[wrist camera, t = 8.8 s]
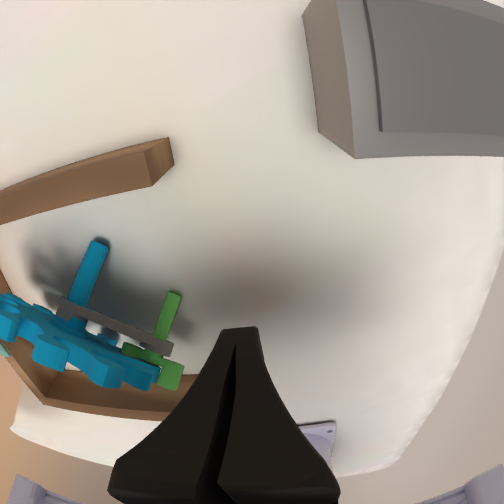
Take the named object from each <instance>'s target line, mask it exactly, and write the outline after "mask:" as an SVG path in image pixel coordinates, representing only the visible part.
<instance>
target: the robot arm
mask: <svg viewBox="0 0 504 504" xmlns="http://www.w3.org/2000/svg"><path fill="white" fill-rule="evenodd" d="M335 433H336V423H333V422H329V423H322V424H315V425H307V426H298V425H297V424H296V423H295V421H294V420H293V418H292V417H291V415H290V414H289V412H288V410H287V409H286V407H285V405H284V403H283V402H282V400H281V398H280V396H279V394H278V392H277V390H276V388H275V386H274V384H273V382H272V380H271V378H270V375H269V373H268V371H267V368H266V365H265V362H264V356H263V352H262V347H261V342H260V337H259V332H258V328H256V327H255V326H253V327H243V328H232V329H223V330H222V331H221V333H220V335H219V337H218V340H217V342H216V344H215V346H214V348H213V350H212V352H211V354H210V356H209V357H208V359H207V361H206V363H205V365H204V366H203V368H202V370H201V371H200V373H199V375H198V376H197V378H196V379H195V381H194V382H193V384H192V385H191V387H190V388H189V390H188V391H187V393H186V394H185V395H184V397H183V398H182V399H181V401H180V402H179V403H178V404H177V406H176V407H175V408H174V409H173V410H172V412H171V413H170V414H169V415H168V416H167V417H166V418H165V419H164V420H163V421H162V422H161V424H160V425H159V426H158V427H157V428H155V429H154V430H153V431H152V432H151V433H150V434H149V435H148V436H147V437H145V438H144V439H143V440H142V441H141V442H140V443H139V444H137V445H136V446H135V447H133V448H132V449H131V450H129V451H128V452H127V453H125V454H124V455H123V456H121V457H120V458H118V459H117V460H116V462H115V465H114V467H113V470H112V473H111V477H110V481H109V486H108V489H107V491H108V492H109V494H110V495H111V496H112V497H114V498H115V499H117V500H119V501H121V502H122V503H124V504H338V498H339V496H340V487H339V485H338V482H337V480H336V478H335V476H334V475H333V469H332V461H331V457H332V452H333V446H334V439H335ZM7 504H84V503H81V502H78V501H75V500H72V499H69V498H66V497H64V496H61V495H58V494H56V493H53V492H50V491H48V490H46V489H45V488H44V487H43V486H41V485H39V484H38V483H36V482H34V481H32V480H30V479H28V478H25V477H23V476H21V475H19V474H17V475H16V477H15V480H14V483H13V486H12V489H11V491H10V495H9V498H8V501H7ZM417 504H504V467H503V465H502V464H499V465H497V466H495V467H493V468H491V469H489V470H487V471H485V472H483V473H481V474H479V475H477V476H476V477H474V478H472V479H470V480H469V481H468V482H467V483H465V485H464V486H461V487H459V488H457V489H454V490H452V491H450V492H447V493H445V494H442V495H439V496H436V497H434V498H431V499H428V500H425V501H423V502H419V503H417Z"/></svg>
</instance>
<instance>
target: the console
mask: <svg viewBox="0 0 504 504" xmlns="http://www.w3.org/2000/svg"><path fill="white" fill-rule="evenodd" d="M302 16H303V21H304V27H305V33H306V39H307V45H308V52H309V58H310V65H311V72H312V80H313V87H314V95H315V103H316V112H317V121H318V131H319V133H320V134H322V135H323V136H325V137H326V138H327V139H329V140H330V141H331V142H333V143H334V144H336V145H337V146H338V147H340V148H341V149H342V150H344V151H345V152H346V153H348V154H349V155H350V156H351V157H353V158H354V159H363V158H381V157H404V156H495V157H504V8H502V7H499V6H497V5H494V4H492V3H489V2H486V1H483V0H311V2H310V3H309V5H308V6H307V8H306V10H305V11H304V13H303V15H302Z"/></svg>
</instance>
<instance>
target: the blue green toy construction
mask: <svg viewBox="0 0 504 504" xmlns="http://www.w3.org/2000/svg"><path fill="white" fill-rule="evenodd" d="M108 251H109V249H108V248H107V247H106V246H104V245H102V244H100V243H98V242H96V241H92V240H91V242H90V245H89V247H88V249H87V251H86V254H85V256H84V258H83V261H82V263H81V266H80V268H79V270H78V273H77V275H76V278H75V281H74V283H73V286H72V288H71V291H70V294H69V296H68V298H65V297H62V298H61V301H60V303H59V306H58V309H57V312H56V315H55V314H53V313H52V311H50V310H49V309H47V308H45V307H42V306H40V305H37V304H33V306H31V305H30V304H28V303H26V302H25V301H23V300H22V299H21V298H19V297H17V296H16V295H14V294H11V293H7V292H5V294H4V295H3V294H1V293H0V338H1V339H3V340H4V341H6V342H11V343H13V342H15V339H16V336H20V337H22V338H24V339H26V340H28V341H30V342H31V343H33V344H34V349H33V353H32V356H31V357H32V359H33V360H34V361H35V362H37V363H39V364H41V365H43V366H46V367H49V368H51V369H54V370H57V371H61V372H64V369H65V366H66V362H69V363H70V364H72V365H74V366H75V367H77V368H78V369H80V370H81V371H82V372H84V373H85V374H86V375H87V376H88V377H89V379H90V380H91V381H92V382H94V383H95V384H97V385H99V386H101V387H105V388H120V387H121V384H122V381H124V382H126V383H128V384H129V385H131V386H133V387H135V388H138V389H140V390H143V391H148V390H149V389H150V386H151V383H152V382H153V383H156V382H157V384H158V385H160V386H161V387H164V388H166V389H169V390H174V391H176V390H177V387H178V384H179V381H180V378H181V376H182V373H183V370H184V366H183V365H181V364H179V363H176V362H174V361H171V360H167V359H164V358H163V356H167V357H170V354H171V351H172V349H173V346H174V343H172V342H170V341H167V340H166V339H167V336H168V333H169V330H170V327H171V325H172V322H173V319H174V316H175V314H176V311H177V308H178V305H179V303H180V300H181V297H180V296H178V295H176V294H173V293H170V292H168V294H167V296H166V299H165V302H164V304H163V307H162V310H161V312H160V315H159V318H158V321H157V323H156V326H155V329H154V332H153V335H152V334H149V333H147V332H144V331H142V330H139V329H137V328H134V327H132V326H129V325H127V324H124V323H122V322H120V321H117V320H115V319H112V318H110V317H108V316H105V315H103V314H101V313H99V312H96V311H94V310H92V309H90V308H88V307H86V306H87V303H88V300H89V298H90V295H91V292H92V290H93V287H94V285H95V282H96V279H97V277H98V274H99V272H100V270H101V267H102V265H103V262H104V260H105V258H106V255H107V253H108ZM88 320H91V321H93V322H95V323H98V324H100V325H102V326H105V327H107V328H109V329H112V330H114V331H116V332H119V333H121V334H124V335H126V336H129V337H131V338H134V339H136V340H139V341H141V342H140V346H141V347H143V348H145V350H143V349H141V348H140V347H138V346H135V345H133V344H130V343H127V342H124V343H123V346H122V349H121V348H118V347H116V344H117V341H116V340H114V339H112V338H110V337H107V336H105V335H103V334H100V333H98V335H97V336H96V335H93V334H91V333H89V332H88V331H86V330H85V327H86V324H87V321H88ZM159 366H161V367H162V369H161V368H160V367H159ZM160 370H161V372H160ZM159 373H160V375H159ZM158 376H159V378H158ZM157 379H158V381H157Z"/></svg>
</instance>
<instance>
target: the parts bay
mask: <svg viewBox="0 0 504 504" xmlns="http://www.w3.org/2000/svg"><path fill="white" fill-rule="evenodd" d="M173 165H174V161H173V156H172V152H171V147H170V142H169V137H167V138H163V139H158V140H154V141H150V142H146V143H142V144H138V145H134V146H130V147H126V148H122V149H119V150H115V151H111V152H108V153H104V154H101V155H98V156H94V157H91V158H88V159H85V160H81V161H78V162H75V163H72V164H69V165H66V166H63V167H60V168H57V169H54V170H52V171H49V172H46V173H43V174H41V175H38V176H35V177H33V178H30V179H27V180H25V181H22V182H20V183H17V184H15V185H12V186H10V187H8V188H5V189H3V190H1V191H0V225H2V224H5V223H8V222H11V221H15V220H18V219H21V218H25V217H28V216H31V215H35V214H38V213H42V212H45V211H49V210H53V209H56V208H60V207H64V206H68V205H72V204H75V203H79V202H83V201H88V200H92V199H96V198H100V197H104V196H109V195H113V194H117V193H122V192H127V191H131V190H136V189H141V188H146V187H151V186H153V185H154V184H155V183H156V182H157V181H158V180H159V179H160V178H161V177H162V176H163V175H164V174H165V173H166V172H167V171H168V170H169V169H170V168H171V167H172V166H173ZM5 292H7V293H11V291H10V289H9V287H8V285H7V283H6V281H5V279H4V277H3V275H2V273H1V271H0V293H1V294H3V295H4V294H5ZM11 294H12V293H11ZM33 349H34V344H33V343H31V342H30V341H28V340H26V339H24V338H22V337H20V336H16V339H15V342H13V343H11V342H6V341H4V340H3V339H1V338H0V354H1V355H2V356H5V358H6V359H7V361H8V362H9V363H10V364H11V366H12V367H13V369H14V370H15V371H16V373H17V374H18V375H19V376H20V378H21V379H22V380H23V381H24V383H25V384H26V385H27V386H28V387H29V389H30V390H31V391H32V392H33V393H34V394H35V396H36V397H37V398H38V399H39V400H40V401H41V402H42V404H43V405H48V406H52V407H57V408H62V409H67V410H72V411H78V412H84V413H90V414H97V415H104V416H111V417H119V418H129V419H139V420H151V421H163V420H164V419H165V418H166V417H167V416H168V415H169V414H170V413H171V412H172V410H173V409H174V408H175V407H176V406H177V404H178V403H179V402H180V401H181V399H182V398H183V397H184V395H185V394H186V393H187V391H188V390H189V388H190V387H191V385H192V384H193V382H194V381H195V379H196V378H197V376H198V375H182V376H181V378H180V381H179V384H178V387H177V390H176V391H174V390H169V389H166V388H164V387H161V386H160V385H158V384H157V382H156V383H153V382H152V383H151V386H150V389H149V390H148V391H143V390H140V389H138V388H135V387H133V386H131V385H129V384H128V383H126V382H124V381H122V384H121V387H120V388H105V387H101V386H99V385H97V384H95V383H94V382H92V381H91V380H90V379H89V377H88V376H87V375H86V374H85V373H84V372H82V371H71V370H64V372H61V371H57V370H54V369H51V368H49V367H46V366H43V365H41V364H39V363H37V362H35V361H34V360H33V359H32V357H31V356H32V353H33ZM158 378H159V376H158ZM157 381H158V379H157Z"/></svg>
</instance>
